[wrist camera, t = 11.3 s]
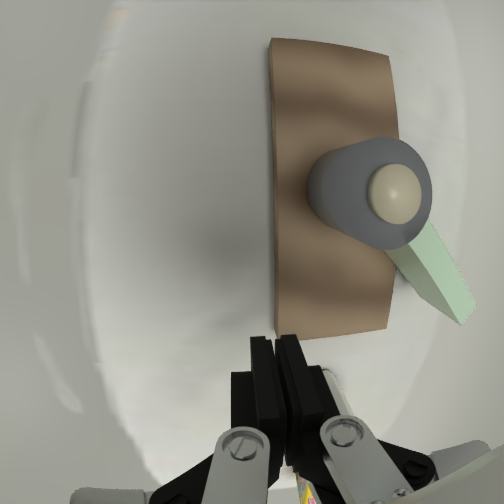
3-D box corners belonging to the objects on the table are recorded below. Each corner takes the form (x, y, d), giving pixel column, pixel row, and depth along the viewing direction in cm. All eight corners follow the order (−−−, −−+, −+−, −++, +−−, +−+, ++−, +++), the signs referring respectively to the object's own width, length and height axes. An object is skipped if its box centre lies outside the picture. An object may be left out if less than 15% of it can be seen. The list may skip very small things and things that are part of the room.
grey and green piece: (289, 189, 19) (319, 193, 12) (343, 131, 18) (394, 111, 11) (404, 312, 22) (449, 351, 15) (444, 263, 21) (496, 288, 14)
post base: (268, 48, 18) (271, 36, 16) (378, 63, 18) (389, 55, 16) (274, 330, 24) (278, 343, 22) (377, 318, 24) (387, 329, 22)
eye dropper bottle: (349, 367, 25) (398, 453, 14) (332, 405, 27) (367, 488, 15) (309, 367, 25) (347, 464, 13) (295, 406, 26) (320, 497, 15)
